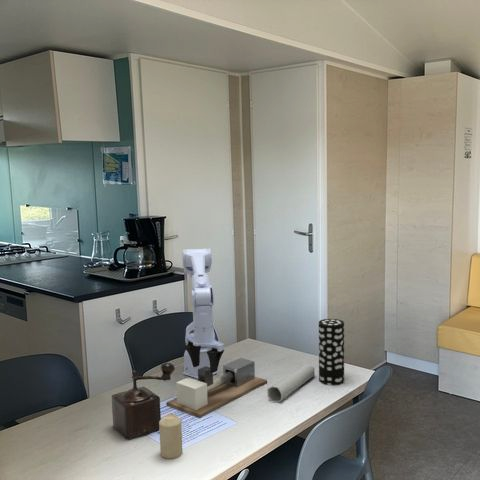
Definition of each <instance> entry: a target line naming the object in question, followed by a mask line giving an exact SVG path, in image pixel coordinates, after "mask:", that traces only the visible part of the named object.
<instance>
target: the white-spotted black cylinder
mask: <svg viewBox="0 0 480 480" xmlns="http://www.w3.org/2000/svg"><path fill="white" fill-rule="evenodd" d="M318 381H319V383H321V384H323V385H327V386H339V385H342V384H343V383H344V382H345V322H344V320H341V319H338V318H337V319H336V318H325V319H324V318H323V319H321V320H318Z"/></svg>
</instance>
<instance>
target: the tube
mask: <svg viewBox="0 0 480 480" xmlns="http://www.w3.org/2000/svg"><path fill="white" fill-rule="evenodd" d="M314 376H316V375H315V368H314V366H313V365H312V364H308V363H305V364H304V365H302V366H301V367H299V368H298V369H296V370H295V371H293V372H291V373H290V374H289V375H287V376H286V377H285V378H283V379H282V380H279V382H277V383H275V384H274V385H272V386H270V387H268V388H267V397H268V399H269V401H270V402H275V403H280V402H282V401H283V400H284V398H286V397H287V396H289V394H292V392H294V391H296V390H297V389H298V388H299V387H302V385H303V384H305V383H307V382H308V381H309V380H310V379H312V378H313V377H314Z"/></svg>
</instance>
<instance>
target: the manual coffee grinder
mask: <svg viewBox="0 0 480 480" xmlns="http://www.w3.org/2000/svg"><path fill="white" fill-rule="evenodd" d="M175 369H176V368H175V365H174V364H173V363H171V362H163V363H162V364H161V365H160V370H161V373H162V374H161V376H156V375H143V376H142V375H141V376H137V371H136V370H132V372H131V379H132V386H133V387H132V388H130V389H127V390H124V391H122V392H117V393H115V394H111V410H112V411H111V412H112V413H111V414H112V427H113V428H114V429H115V430H116V431H117V432H118V433H119V434H120V435H121V436H122V437H123V438H125V440H128V441H129V440H132V439H136V438H140V437H143V436H146V435H148V434H150V433H153V432H156V431H158V430H159V421H160V420H161V419H162V418H161V415H162V414H161V397H160V396H159V395H158V394H156V393H155V392H153V391H152V390H151V389H149V388H147V387H146V386H140V387H138V385H137V380H140V381H141V380H158V381H164V382H166V381H171V375H172V373H174V372H175Z"/></svg>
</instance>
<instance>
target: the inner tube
mask: <svg viewBox="0 0 480 480" xmlns="http://www.w3.org/2000/svg"><path fill="white" fill-rule="evenodd" d="M234 379H235V375H234V373H233V372H232V371H229V372H227V373H225V374H223V373H222V374H221V375H219V376H218V375H217V376H216V377H215V378H214V375H213V373H211V370H210V367H206V366H205V367H203V368H201V369H198V379H197V381H201V382H204V383H207V392H209V391H211V390H214V389H216V388H218V387H220V386H222V385H224V384H226V383H228V382H230V381H232V380H234Z"/></svg>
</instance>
